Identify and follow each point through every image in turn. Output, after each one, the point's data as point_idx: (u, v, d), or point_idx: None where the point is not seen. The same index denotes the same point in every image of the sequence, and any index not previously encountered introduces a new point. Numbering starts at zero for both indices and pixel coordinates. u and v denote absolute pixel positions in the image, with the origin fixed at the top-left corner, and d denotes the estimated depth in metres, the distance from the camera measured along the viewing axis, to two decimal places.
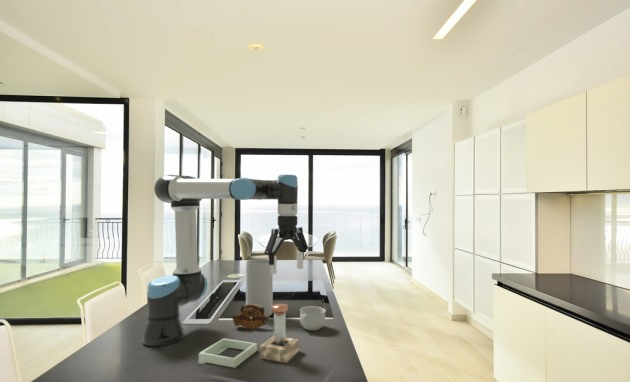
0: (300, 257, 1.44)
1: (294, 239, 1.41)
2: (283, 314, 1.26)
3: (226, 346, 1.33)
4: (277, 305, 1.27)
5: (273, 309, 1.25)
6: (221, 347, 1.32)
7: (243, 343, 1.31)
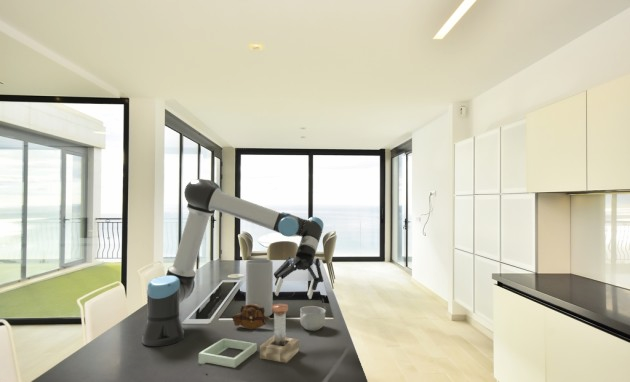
0: None
1: (307, 268, 1.43)
2: (283, 314, 1.26)
3: (226, 346, 1.33)
4: (277, 305, 1.27)
5: (273, 309, 1.25)
6: (221, 347, 1.32)
7: (243, 343, 1.31)
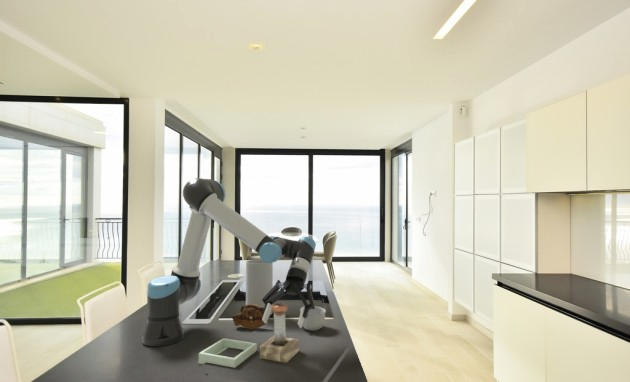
0: None
1: (298, 293, 1.34)
2: (283, 314, 1.26)
3: (226, 346, 1.33)
4: (277, 305, 1.27)
5: (273, 309, 1.25)
6: (221, 347, 1.32)
7: (243, 343, 1.31)
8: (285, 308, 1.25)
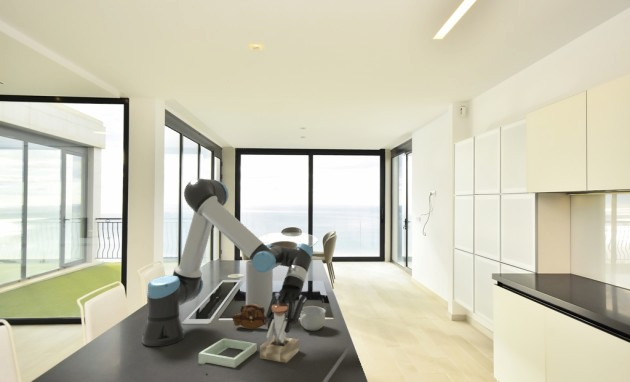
0: None
1: None
2: (283, 314, 1.26)
3: (226, 346, 1.33)
4: (277, 305, 1.27)
5: (273, 309, 1.25)
6: (221, 347, 1.32)
7: (243, 343, 1.31)
8: (285, 308, 1.25)
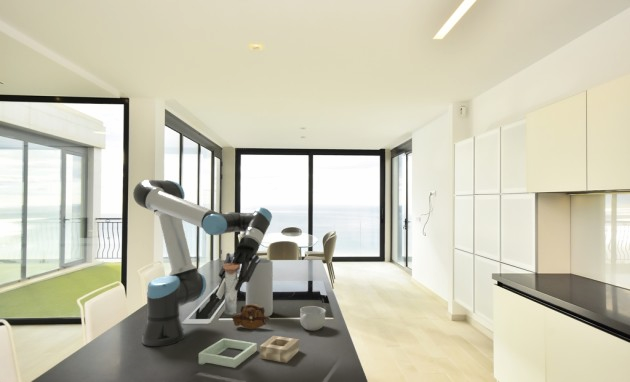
0: None
1: None
2: (234, 272, 1.25)
3: (226, 346, 1.33)
4: (229, 263, 1.27)
5: (224, 267, 1.25)
6: (221, 347, 1.32)
7: (243, 343, 1.31)
8: (236, 266, 1.25)
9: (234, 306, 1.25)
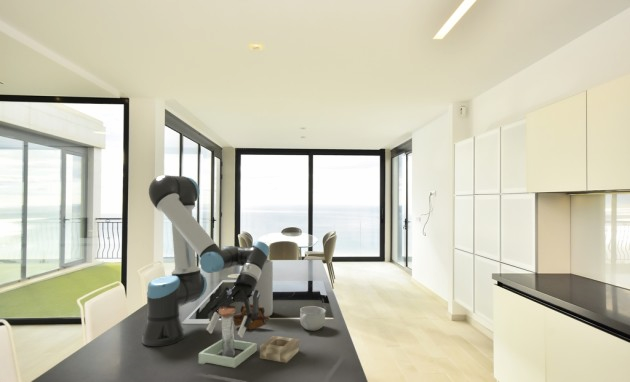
0: None
1: None
2: (230, 316, 1.24)
3: None
4: (224, 307, 1.26)
5: (219, 312, 1.24)
6: (221, 347, 1.32)
7: (243, 343, 1.31)
8: (232, 310, 1.24)
9: (232, 350, 1.24)
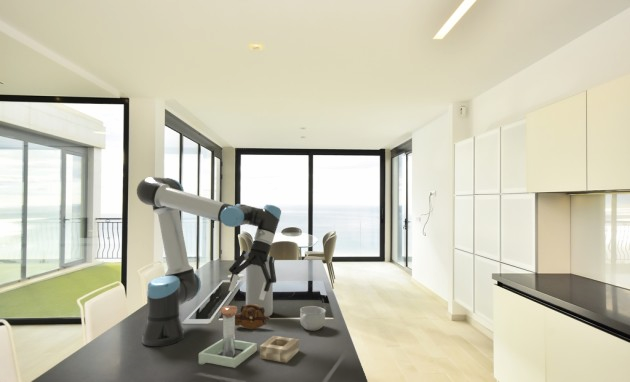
0: None
1: None
2: (232, 316, 1.25)
3: None
4: (226, 307, 1.27)
5: (221, 311, 1.24)
6: (221, 347, 1.32)
7: (243, 343, 1.31)
8: (234, 310, 1.24)
9: (232, 350, 1.25)
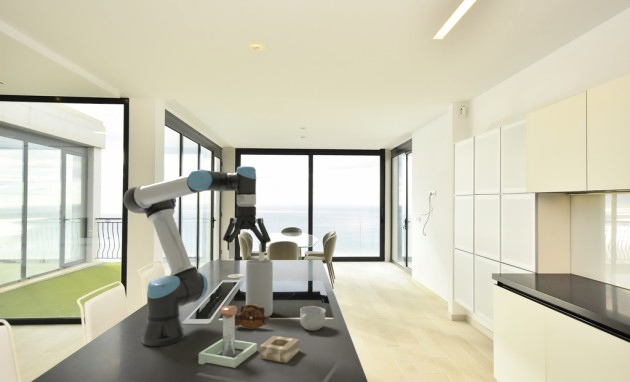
0: None
1: None
2: (231, 316, 1.24)
3: None
4: (226, 307, 1.26)
5: (221, 311, 1.24)
6: (221, 347, 1.32)
7: (243, 343, 1.31)
8: (234, 310, 1.24)
9: (232, 350, 1.25)
